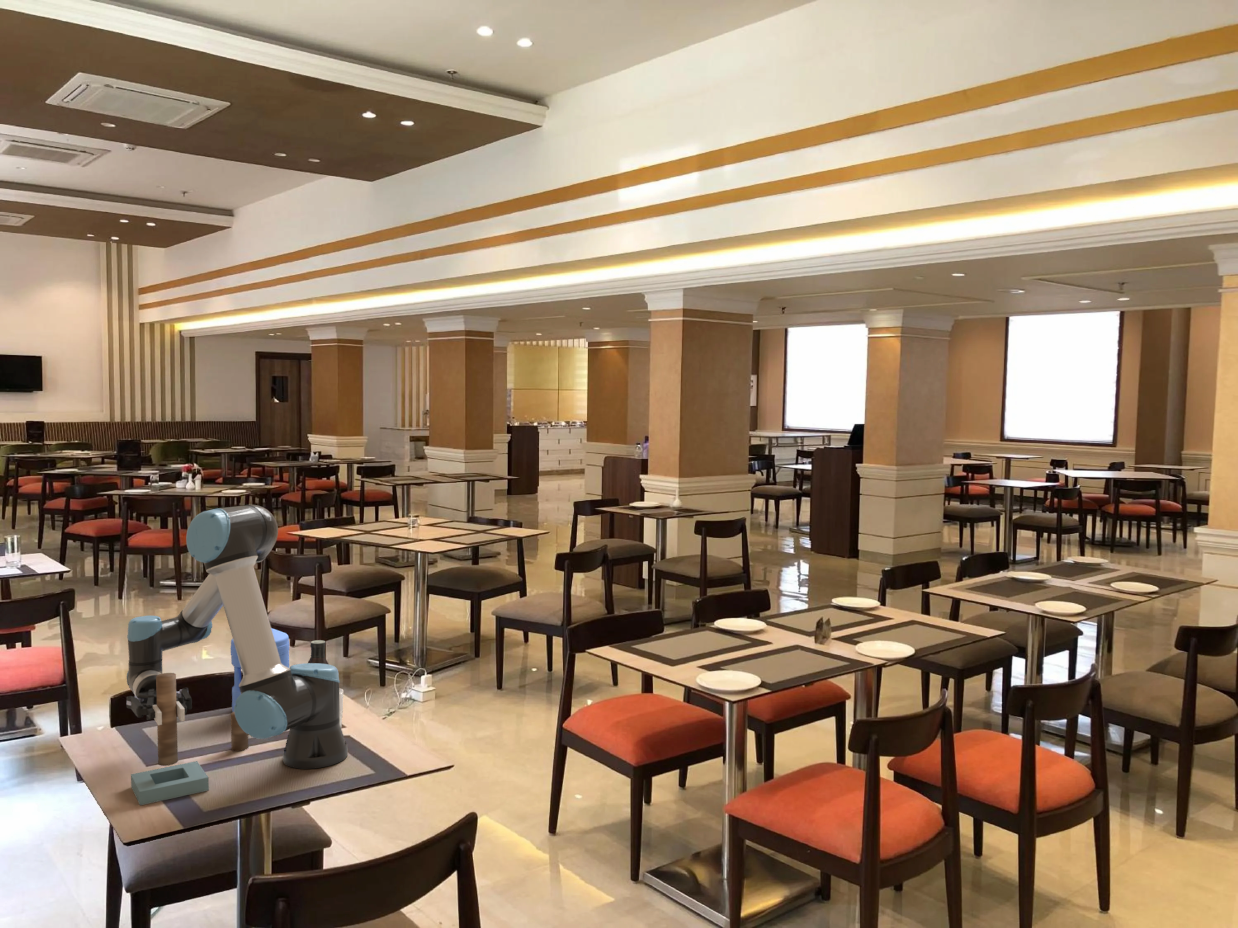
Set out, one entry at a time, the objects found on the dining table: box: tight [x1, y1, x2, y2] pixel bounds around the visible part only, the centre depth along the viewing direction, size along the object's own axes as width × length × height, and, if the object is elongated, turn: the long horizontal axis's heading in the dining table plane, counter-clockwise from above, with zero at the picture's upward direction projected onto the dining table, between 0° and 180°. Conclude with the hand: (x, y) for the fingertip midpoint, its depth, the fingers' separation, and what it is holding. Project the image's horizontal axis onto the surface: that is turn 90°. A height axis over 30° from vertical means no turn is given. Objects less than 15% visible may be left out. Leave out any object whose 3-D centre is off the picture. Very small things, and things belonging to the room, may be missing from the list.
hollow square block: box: [130, 760, 210, 806], centre depth 216 cm, size 12×14×3 cm
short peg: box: [230, 711, 249, 752], centre depth 241 cm, size 4×4×9 cm
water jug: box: [230, 627, 290, 713], centre depth 270 cm, size 16×16×28 cm
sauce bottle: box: [307, 639, 329, 664], centre depth 270 cm, size 6×6×20 cm
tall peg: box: [156, 672, 179, 767], centre depth 215 cm, size 4×4×20 cm
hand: (171, 716), depth 210 cm, fingers closed on tall peg, 4 cm apart
